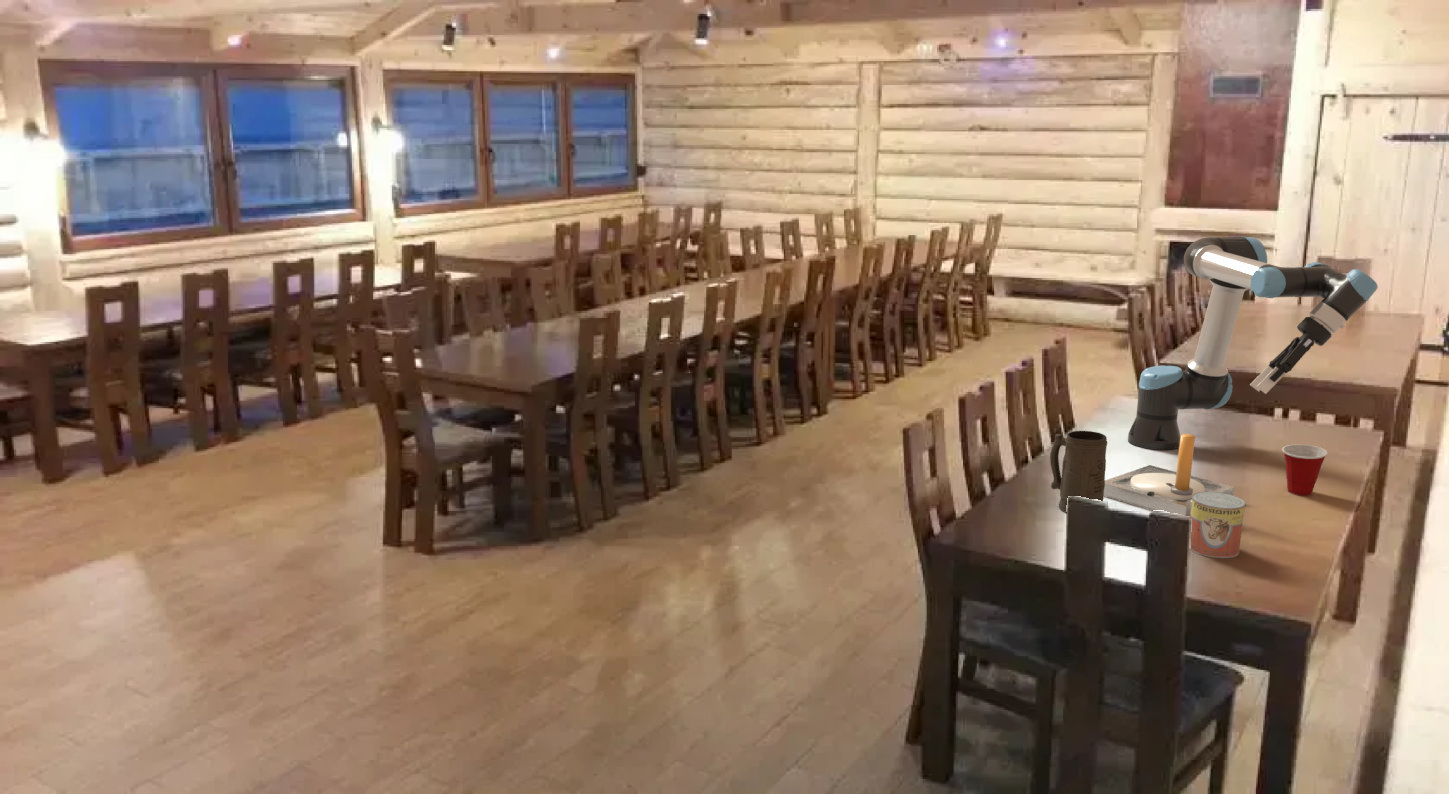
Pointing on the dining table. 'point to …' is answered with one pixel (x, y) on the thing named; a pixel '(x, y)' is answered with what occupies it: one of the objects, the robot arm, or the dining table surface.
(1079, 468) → the beer stein
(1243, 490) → the dining table surface
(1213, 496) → the canned food
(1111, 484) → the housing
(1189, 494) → the dial
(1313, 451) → the plastic cup
